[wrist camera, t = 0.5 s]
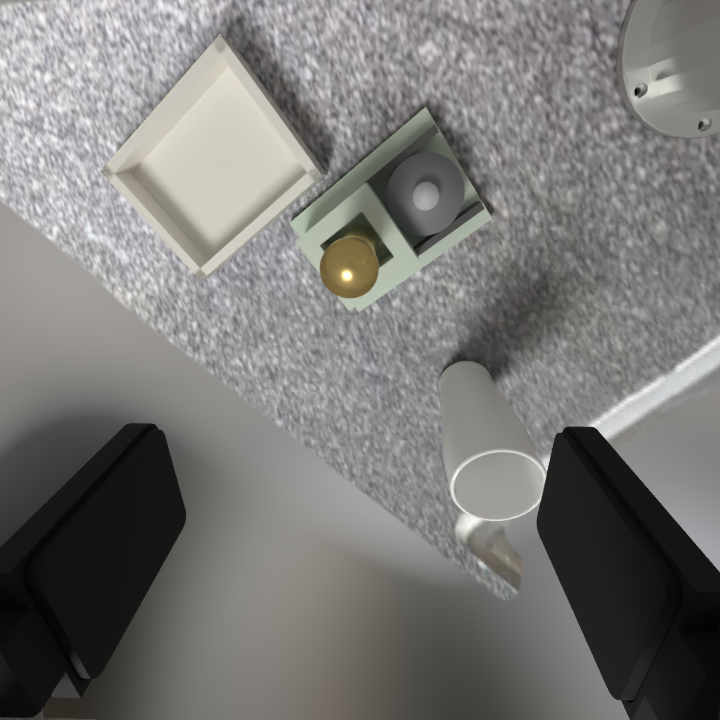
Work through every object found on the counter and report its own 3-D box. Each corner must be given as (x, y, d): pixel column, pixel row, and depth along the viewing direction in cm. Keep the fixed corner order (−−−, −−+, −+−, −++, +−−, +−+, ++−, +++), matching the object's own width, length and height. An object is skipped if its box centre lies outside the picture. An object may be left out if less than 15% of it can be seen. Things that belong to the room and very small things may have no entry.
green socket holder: (424, 108, 31) (430, 98, 26) (490, 217, 34) (504, 224, 29) (291, 222, 35) (277, 229, 31) (359, 309, 38) (355, 327, 34)
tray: (235, 45, 30) (219, 33, 27) (327, 174, 33) (321, 175, 31) (123, 170, 34) (100, 171, 32) (214, 272, 38) (200, 281, 35)
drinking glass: (439, 346, 39) (462, 440, 26) (506, 357, 39) (565, 457, 26) (424, 404, 42) (439, 514, 29) (487, 414, 42) (531, 529, 29)
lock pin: (364, 210, 33) (354, 226, 24) (391, 247, 35) (390, 276, 26) (330, 238, 35) (307, 263, 26) (356, 272, 36) (344, 309, 27)
